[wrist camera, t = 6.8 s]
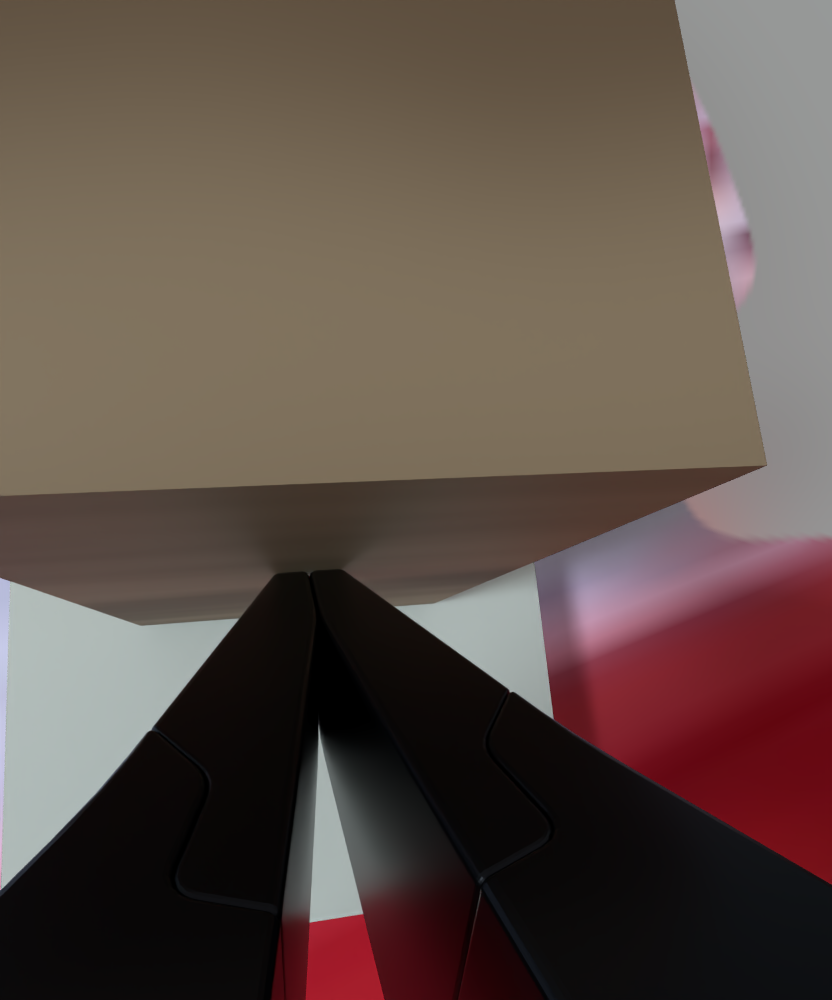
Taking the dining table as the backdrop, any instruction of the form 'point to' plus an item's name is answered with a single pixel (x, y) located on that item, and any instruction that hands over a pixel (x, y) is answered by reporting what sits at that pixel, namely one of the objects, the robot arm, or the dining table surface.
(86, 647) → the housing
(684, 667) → the dining table surface
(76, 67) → the brown wooden block
